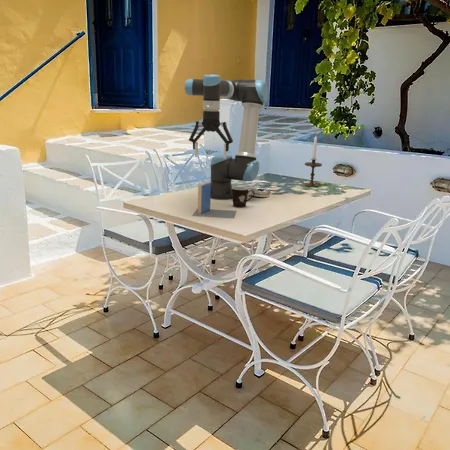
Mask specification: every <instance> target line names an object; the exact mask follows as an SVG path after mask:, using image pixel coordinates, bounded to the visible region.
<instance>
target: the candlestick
mask: <svg viewBox="0 0 450 450" xmlns="http://www.w3.org/2000/svg"><path fill="white" fill-rule="evenodd" d="M317 143H318V138H317V131H315V136H314V138H313V147H312V158H311V159H310V160H311V162H305V163H304V166H305V167H306V166H307V167H310V168H311V173H310V175H309V176H310V181H309V182H306V183H304V186H305V187H307V186H308V187H307V188H319V187H318V186H320V185H319V183H314V179H315V175H316V174H315V169H316V168H317V167H318V168H319V167H323V164H322V163H320V162H316V161H317V157H316V155H317Z"/></svg>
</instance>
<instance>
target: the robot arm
mask: <svg viewBox="0 0 450 450" xmlns="http://www.w3.org/2000/svg"><path fill="white" fill-rule="evenodd" d="M184 91H185V94H186V95H187V96H193V97H194V96H195V97H197V96H198V97H203V100H202V109H203V111H202V121H200V120H196V122H195V125H194V128H193V130H192V133H191V134H190V136H189V139H188V141H189V142H190V143H191V142H192V150H194V158H197V157H199V142H198V141H199V139H200V138H201V137H202V136H203V134H204V133H205V132H208V133H209V132H211V133H213V132H216V133H217V134H218V136H219V137H220V138H221V140H222V141H223V142H224V144H223V155H222V154H221V155H216V156H213V157H211V160H210V183H211V197H210V199H213V200H230V199H233V198H232V187H233V184H232V180H233V181H238V182H239V181H241V182H249V183H250V182H253V181H254V180H256V178H257V177H258V174H259V170H260V163H259V160H257V156H256V155H255V150H256V142H257V134H258V125H259V120H260V119H259V118H260V111H261V109H263V107H264V104H265V103H267V102H268V100H269V88H268V84H267V82H266V81H265V80H262V79H232V80H231V79H230V80H228V79H221V75H219V74H204V75H203V79H201V78H188V79H186V81H185V82H184ZM221 99H223V100H228V101H233V102H240V103H241V106H242V107H243V114H242V122H241V128H240V129H241V130H240V135H239V137H240V138H239V145H238V152H237V153H236V154H234V155H235V156H234V158H233V155H232V154H227V152H229V150H230V144H232V143H234V140H233V138H232V136H231V133H230V131H229V128H228V124H227V121H223V122H221V121H220V119H221V117H220V113H221V112H220V111H219V110H221ZM201 125H202V127H203V128H202V129H201V131H199V133H198V134H197V132H198V129H199V128H200V126H201ZM220 126H221V127H222V129H223V131H224V133H225V134H224V133H223V132H222V131H221V129H220V128H219V127H220ZM196 134H197V135H196ZM225 135H226V136H225ZM195 136H196V137H195Z"/></svg>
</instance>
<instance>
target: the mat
mask: <svg viewBox="0 0 450 450" xmlns="http://www.w3.org/2000/svg"><path fill="white" fill-rule="evenodd" d="M236 214H237V210H229V209H228V210H227V209H212V208H210V210H209V211H206V212H204V213H202V214H198V208H196V209H195V211H194V212H193V214H192V215H191V217H203V218H219V219H235V218H236Z"/></svg>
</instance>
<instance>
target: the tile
mask: <svg viewBox="0 0 450 450" xmlns="http://www.w3.org/2000/svg"><path fill="white" fill-rule="evenodd" d="M197 187H198V190H197V191H198V193H197V209H198V214H202V213H204V212H206V211H209V210H210V209H211V198H210V197H211V181H206V182H203V183H200V184H198V185H197Z"/></svg>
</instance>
